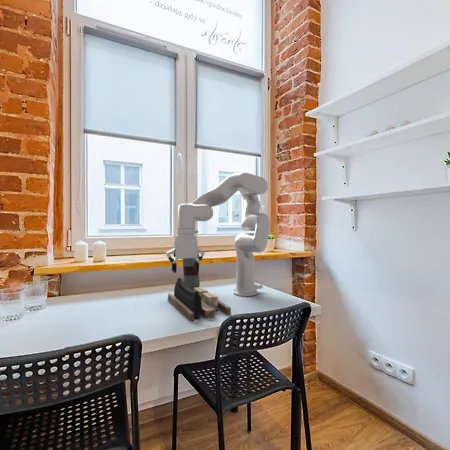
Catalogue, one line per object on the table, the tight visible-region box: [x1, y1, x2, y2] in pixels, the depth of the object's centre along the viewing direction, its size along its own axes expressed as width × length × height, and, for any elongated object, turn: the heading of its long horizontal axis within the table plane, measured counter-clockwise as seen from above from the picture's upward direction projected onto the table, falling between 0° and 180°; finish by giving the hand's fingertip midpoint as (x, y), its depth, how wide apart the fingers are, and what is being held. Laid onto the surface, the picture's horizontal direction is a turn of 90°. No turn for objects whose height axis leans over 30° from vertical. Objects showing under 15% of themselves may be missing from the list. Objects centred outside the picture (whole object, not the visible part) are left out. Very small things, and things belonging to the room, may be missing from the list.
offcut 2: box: [202, 291, 219, 311], centre depth 131 cm, size 4×8×6 cm, turn 26°
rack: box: [167, 293, 232, 322], centre depth 133 cm, size 18×32×3 cm, turn 26°
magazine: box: [173, 277, 203, 318], centre depth 130 cm, size 17×3×30 cm
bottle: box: [182, 252, 201, 291], centre depth 161 cm, size 9×9×30 cm
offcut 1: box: [194, 286, 209, 300], centre depth 141 cm, size 4×8×6 cm, turn 26°
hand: (185, 271), depth 130 cm, fingers open, 9 cm apart
